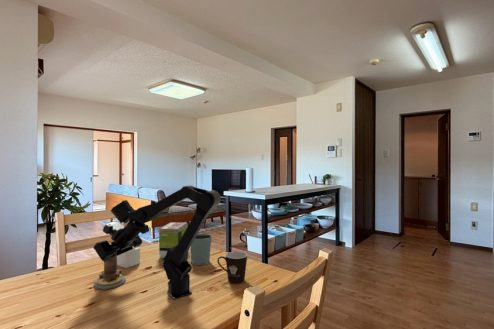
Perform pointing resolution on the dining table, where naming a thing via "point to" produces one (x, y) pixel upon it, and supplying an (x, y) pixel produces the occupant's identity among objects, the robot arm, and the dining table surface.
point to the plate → (109, 285)
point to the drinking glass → (201, 249)
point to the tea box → (170, 236)
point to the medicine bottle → (129, 258)
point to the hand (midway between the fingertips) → (107, 258)
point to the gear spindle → (110, 268)
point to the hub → (109, 281)
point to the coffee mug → (235, 266)
